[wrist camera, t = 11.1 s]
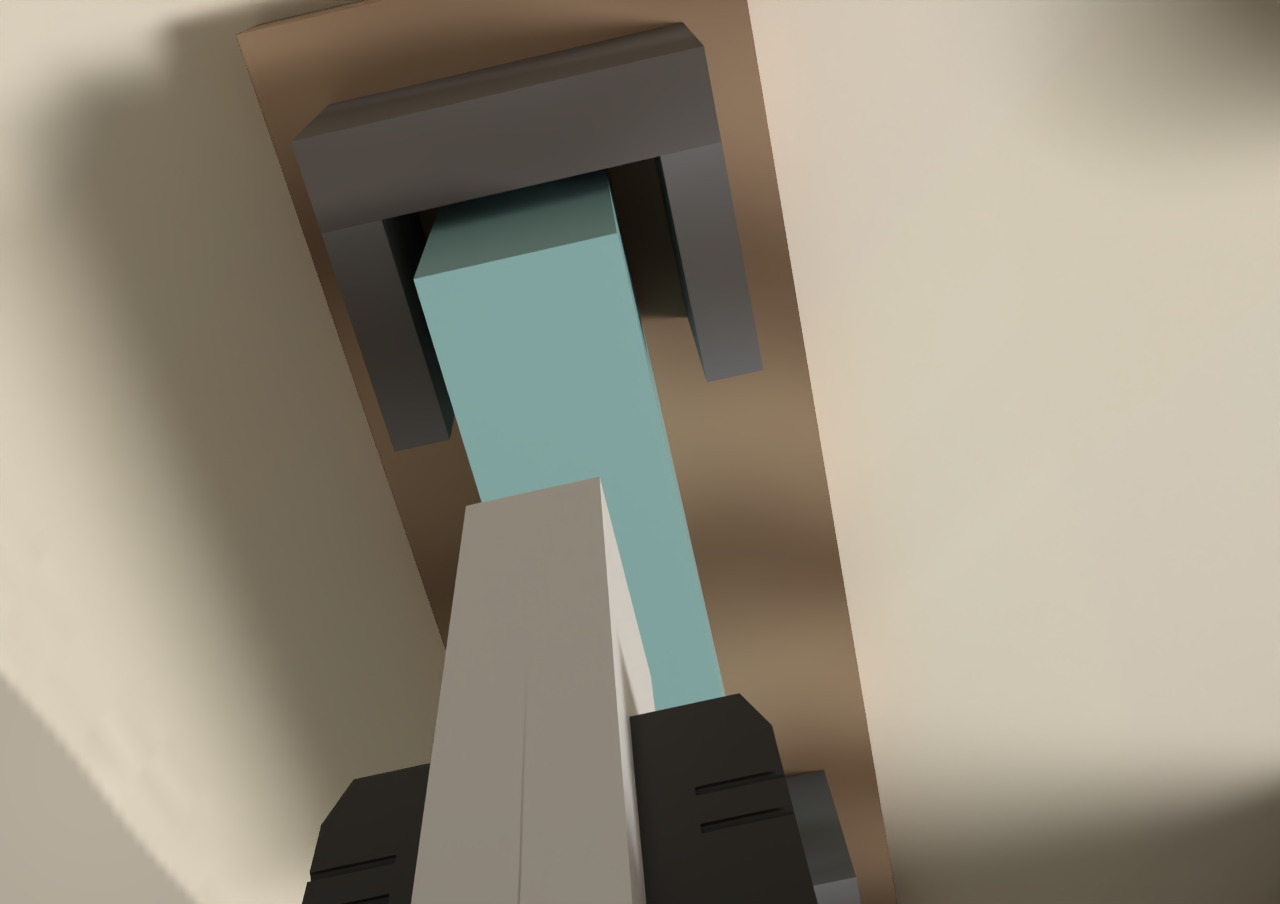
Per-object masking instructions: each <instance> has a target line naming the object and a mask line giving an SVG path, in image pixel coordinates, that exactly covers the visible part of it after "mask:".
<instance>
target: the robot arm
mask: <svg viewBox="0 0 1280 904" xmlns="http://www.w3.org/2000/svg"><path fill="white" fill-rule="evenodd" d="M310 876H311V882H307V886H306V890H305V894H304V898H303V902H302V904H818V903H817V899H816V895H815V891H814V887H813V883H812V879H811V875H810V871H809V867H808V864H807V860H806V856H805V852H804V848H803V844H802V840H801V836H800V832H799V829H798V825H797V821H796V817H795V814H794V810H793V805H792V801H791V797H790V793H789V790H788V786H787V782H786V778H785V775H784V770H783V766H782V762H781V758H780V755H779V751H778V747H777V743H776V739H775V735H774V731H773V727H772V725H771V724H770V723H769V722H768V721H767V720H766V719H765V718H764V717H763V716H762V715H761V714H760V713H759V712H758V711H757V710H756V709H755V708H754V707H753V706H752V705H751V704H750V703H749V702H748V701H747V700H746V699H745V698H744V697H743V696H742V695H741V694H740V693H738V694H733V695H728V696H724V697H719V698H714V699H709V700H705V701H700V702H696V703H691V704H686V705H681V706H677V707H672V708H667V709H663V710H658V711H655V706H654V698H653V690H652V682H651V675H650V671H649V667H648V663H647V660H646V656H645V652H644V648H643V644H642V640H641V636H640V632H639V628H638V624H637V621H636V617H635V613H634V609H633V605H632V601H631V597H630V593H629V589H628V586H627V582H626V578H625V574H624V570H623V566H622V562H621V558H620V554H619V550H618V547H617V543H616V539H615V535H614V531H613V527H612V523H611V519H610V515H609V512H608V508H607V504H606V500H605V496H604V492H603V488H602V484H601V480H600V476H599V477H595V478H590V479H586V480H581V481H576V482H572V483H567V484H563V485H558V486H554V487H549V488H545V489H540V490H536V491H531V492H527V493H522V494H518V495H513V496H509V497H504V498H500V499H495V500H491V501H486V502H481V503H477V504H472V505H468V506H466V510H465V517H464V524H463V531H462V539H461V546H460V553H459V560H458V568H457V575H456V582H455V589H454V596H453V604H452V611H451V618H450V625H449V633H448V640H447V647H446V654H445V662H444V669H443V676H442V683H441V690H440V698H439V705H438V712H437V719H436V727H435V734H434V741H433V748H432V756H431V763H429V764H424V765H420V766H415V767H410V768H406V769H401V770H396V771H392V772H387V773H382V774H378V775H373V776H368V777H364V778H359V779H354V780H353V781H352V783H351V784H350V786H349V787H348V788H347V790H346V791H345V793H344V794H343V795H342V797H341V798H340V800H339V801H338V802H337V804H336V805H335V807H334V808H333V809H332V811H331V812H330V814H329V815H328V816H327V818H326V819H325V821H324V822H323V823H322V825H321V828H320V832H319V836H318V841H317V845H316V849H315V853H314V857H313V861H312V865H311V869H310Z"/></svg>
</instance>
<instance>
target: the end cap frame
mask: <svg viewBox="0 0 1280 904" xmlns="http://www.w3.org/2000/svg"><path fill="white" fill-rule="evenodd" d="M236 36H237V39H238V42H239V45H240V48H241V51H242V54H243V57H244V60H245V63H246V66H247V69H248V72H249V74H250V77H251V80H252V83H253V86H254V89H255V92H256V95H257V98H258V101H259V104H260V107H261V110H262V113H263V115H264V118H265V121H266V124H267V127H268V130H269V133H270V136H271V139H272V142H273V145H274V148H275V151H276V154H277V157H278V159H279V162H280V165H281V168H282V171H283V174H284V177H285V180H286V183H287V186H288V189H289V192H290V195H291V198H292V200H293V203H294V206H295V209H296V212H297V215H298V218H299V221H300V224H301V227H302V230H303V233H304V236H305V239H306V242H307V244H308V247H309V250H310V253H311V256H312V259H313V262H314V265H315V268H316V271H317V274H318V277H319V280H320V283H321V285H322V288H323V291H324V294H325V297H326V300H327V303H328V306H329V309H330V312H331V315H332V318H333V321H334V324H335V327H336V329H337V332H338V335H339V338H340V341H341V344H342V347H343V350H344V353H345V356H346V359H347V362H348V365H349V368H350V370H351V373H352V376H353V379H354V382H355V385H356V388H357V391H358V394H359V397H360V400H361V403H362V406H363V409H364V412H365V414H366V417H367V420H368V423H369V426H370V429H371V432H372V435H373V438H374V441H375V444H376V447H377V450H378V453H379V455H380V458H381V461H382V464H383V467H384V470H385V473H386V476H387V479H388V482H389V485H390V488H391V491H392V494H393V496H394V499H395V502H396V505H397V508H398V511H399V514H400V517H401V520H402V523H403V526H404V529H405V532H406V535H407V538H408V540H409V543H410V546H411V549H412V552H413V555H414V558H415V561H416V564H417V567H418V570H419V573H420V576H421V579H422V581H423V584H424V587H425V590H426V593H427V596H428V599H429V602H430V605H431V608H432V611H433V614H434V617H435V620H436V623H437V625H438V628H439V631H440V634H441V637H442V640H443V643H444V646H445V649H446V647H447V640H448V633H449V625H450V618H451V611H452V604H453V596H454V589H455V582H456V575H457V568H458V560H459V553H460V546H461V539H462V531H463V524H464V517H465V510H466V506H468V505H472V504H477V503H481V499H480V495H479V492H478V489H477V485H476V482H475V479H474V476H473V472H472V469H471V466H470V463H469V459H468V456H467V453H466V450H465V446H464V443H463V440H462V436H461V433H460V430H459V427H458V423H457V420H456V417H455V414H454V410H453V407H452V404H451V400H450V397H449V394H448V391H447V387H446V384H445V381H444V378H443V374H442V371H441V368H440V364H439V361H438V358H437V355H436V351H435V348H434V345H433V342H432V338H431V335H430V332H429V329H428V325H427V322H426V319H425V315H424V312H423V309H422V306H421V302H420V299H419V296H418V293H417V289H416V286H415V283H414V276H415V273H416V271H417V268H418V265H419V262H420V260H421V257H422V254H423V251H424V248H425V246H426V243H427V240H428V237H429V235H430V232H431V229H432V226H433V223H434V221H435V218H436V215H437V212H438V210H439V207H440V206H445V205H449V204H453V203H458V202H462V201H466V200H471V199H475V198H479V197H484V196H488V195H492V194H497V193H501V192H506V191H510V190H514V189H519V188H523V187H527V186H532V185H536V184H540V183H545V182H549V181H554V180H558V179H562V178H567V177H571V176H575V175H580V174H584V173H588V172H593V171H597V170H602V169H606V168H607V171H608V175H609V180H610V184H611V188H612V193H613V197H614V202H615V206H616V211H617V215H618V220H619V224H620V228H621V233H622V237H623V242H624V246H625V251H626V255H627V260H628V264H629V268H630V273H631V277H632V282H633V286H634V291H635V295H636V300H637V304H638V308H639V313H640V317H641V322H642V326H643V331H644V335H645V340H646V344H647V348H648V353H649V357H650V362H651V366H652V371H653V375H654V380H655V384H656V388H657V393H658V397H659V402H660V406H661V411H662V415H663V420H664V424H665V428H666V433H667V437H668V442H669V446H670V451H671V455H672V460H673V464H674V468H675V473H676V477H677V482H678V486H679V491H680V495H681V500H682V504H683V508H684V513H685V517H686V522H687V526H688V531H689V535H690V540H691V544H692V548H693V553H694V557H695V562H696V566H697V571H698V575H699V580H700V584H701V588H702V593H703V597H704V602H705V606H706V611H707V615H708V620H709V624H710V628H711V633H712V637H713V642H714V646H715V651H716V655H717V660H718V664H719V668H720V673H721V677H722V682H723V686H724V691H725V695H726V696H728V695H733V694H738V693H740V694H741V695H742V696H743V697H744V698H745V699H746V700H747V701H748V702H749V703H750V704H751V705H752V706H753V707H754V708H755V709H756V710H757V711H758V712H759V713H760V714H761V715H762V716H763V717H764V718H765V719H766V720H767V721H768V722H769V723H770V724H771V725H772V727H773V731H774V735H775V739H776V743H777V747H778V751H779V755H780V758H781V762H782V766H783V770H784V775H785V778H786V782H787V786H788V790H789V793H790V797H791V801H792V805H793V810H794V814H795V817H796V821H797V825H798V829H799V832H800V836H801V840H802V844H803V848H804V852H805V856H806V860H807V864H808V867H809V871H810V875H811V879H812V883H813V887H814V891H815V895H816V899H817V903H818V904H897V901H896V895H895V889H894V883H893V877H892V871H891V865H890V859H889V853H888V847H887V841H886V835H885V829H884V823H883V817H882V811H881V805H880V799H879V793H878V787H877V781H876V775H875V769H874V763H873V757H872V751H871V745H870V739H869V732H868V726H867V720H866V714H865V708H864V702H863V696H862V690H861V684H860V678H859V672H858V666H857V660H856V654H855V648H854V642H853V636H852V630H851V624H850V618H849V612H848V606H847V600H846V594H845V588H844V582H843V576H842V570H841V564H840V558H839V552H838V546H837V540H836V534H835V528H834V522H833V516H832V510H831V504H830V498H829V491H828V485H827V479H826V473H825V467H824V461H823V455H822V449H821V443H820V437H819V431H818V425H817V419H816V413H815V407H814V401H813V395H812V389H811V383H810V377H809V371H808V365H807V359H806V353H805V347H804V341H803V335H802V329H801V323H800V317H799V311H798V305H797V299H796V293H795V287H794V281H793V275H792V269H791V263H790V257H789V250H788V244H787V238H786V232H785V226H784V220H783V214H782V208H781V202H780V196H779V190H778V184H777V178H776V172H775V166H774V160H773V154H772V148H771V142H770V136H769V130H768V124H767V118H766V112H765V106H764V100H763V94H762V88H761V82H760V76H759V70H758V64H757V58H756V52H755V46H754V40H753V34H752V28H751V22H750V16H749V9H748V3H747V0H363V1H359V2H355V3H350V4H346V5H342V6H338V7H334V8H329V9H325V10H321V11H317V12H312V13H308V14H304V15H300V16H295V17H291V18H287V19H283V20H278V21H274V22H270V23H266V24H261V25H257V26H254V27H252V28H250V29H248V30H246V31H244V32H242V33H239V34H237V35H236Z"/></svg>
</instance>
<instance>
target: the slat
mask: <svg viewBox="0 0 1280 904" xmlns="http://www.w3.org/2000/svg"><path fill="white" fill-rule="evenodd" d="M414 283H415V286H416V289H417V293H418V296H419V299H420V302H421V306H422V309H423V312H424V315H425V319H426V322H427V325H428V329H429V332H430V335H431V338H432V342H433V345H434V348H435V351H436V355H437V358H438V361H439V364H440V368H441V371H442V374H443V378H444V381H445V384H446V387H447V391H448V394H449V397H450V400H451V404H452V407H453V410H454V414H455V417H456V420H457V423H458V427H459V430H460V433H461V436H462V440H463V443H464V446H465V450H466V453H467V456H468V459H469V463H470V466H471V469H472V472H473V476H474V479H475V482H476V485H477V489H478V492H479V495H480V499H481V502H486V501H491V500H495V499H500V498H504V497H509V496H513V495H518V494H522V493H527V492H531V491H536V490H540V489H545V488H549V487H554V486H558V485H563V484H567V483H572V482H576V481H581V480H586V479H590V478H595V477H599V476H600V480H601V484H602V488H603V492H604V496H605V500H606V504H607V508H608V512H609V515H610V519H611V523H612V527H613V531H614V535H615V539H616V543H617V547H618V550H619V554H620V558H621V562H622V566H623V570H624V574H625V578H626V582H627V586H628V589H629V593H630V597H631V601H632V605H633V609H634V613H635V617H636V621H637V624H638V628H639V632H640V636H641V640H642V644H643V648H644V652H645V656H646V660H647V663H648V667H649V671H650V675H651V682H652V690H653V698H654V706H655V711H658V710H663V709H667V708H672V707H677V706H681V705H686V704H691V703H696V702H700V701H705V700H709V699H714V698H719V697H724V696H726V695H725V691H724V686H723V682H722V677H721V673H720V668H719V664H718V660H717V655H716V651H715V646H714V642H713V637H712V633H711V628H710V624H709V620H708V615H707V611H706V606H705V602H704V597H703V593H702V588H701V584H700V580H699V575H698V571H697V566H696V562H695V557H694V553H693V548H692V544H691V540H690V535H689V531H688V526H687V522H686V517H685V513H684V508H683V504H682V500H681V495H680V491H679V486H678V482H677V477H676V473H675V468H674V464H673V460H672V455H671V451H670V446H669V442H668V437H667V433H666V428H665V424H664V420H663V415H662V411H661V406H660V402H659V397H658V393H657V388H656V384H655V380H654V375H653V371H652V366H651V362H650V357H649V353H648V348H647V344H646V340H645V335H644V331H643V326H642V322H641V317H640V313H639V308H638V304H637V300H636V295H635V291H634V286H633V282H632V277H631V273H630V268H629V264H628V260H627V255H626V251H625V246H624V242H623V237H622V233H621V228H620V224H619V220H618V215H617V211H616V206H615V202H614V197H613V193H612V188H611V184H610V180H609V175H608V171H607V168H606V169H602V170H597V171H593V172H588V173H584V174H580V175H575V176H571V177H567V178H562V179H558V180H554V181H549V182H545V183H540V184H536V185H532V186H527V187H523V188H519V189H514V190H510V191H506V192H501V193H497V194H492V195H488V196H484V197H479V198H475V199H471V200H466V201H462V202H458V203H453V204H449V205H445V206H440V207H439V210H438V212H437V215H436V218H435V221H434V223H433V226H432V229H431V232H430V235H429V237H428V240H427V243H426V246H425V248H424V251H423V254H422V257H421V260H420V262H419V265H418V268H417V271H416V273H415V276H414Z"/></svg>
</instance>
